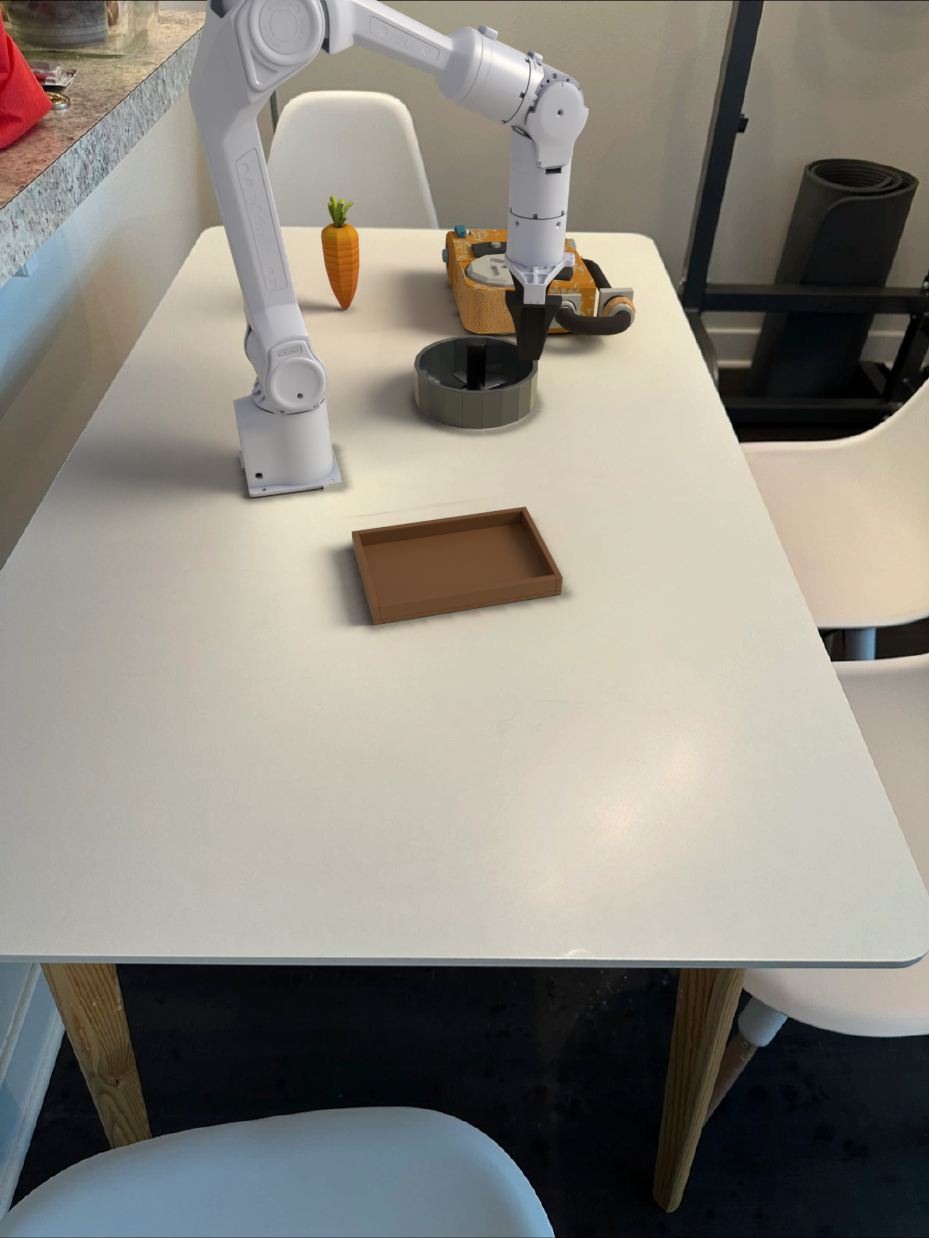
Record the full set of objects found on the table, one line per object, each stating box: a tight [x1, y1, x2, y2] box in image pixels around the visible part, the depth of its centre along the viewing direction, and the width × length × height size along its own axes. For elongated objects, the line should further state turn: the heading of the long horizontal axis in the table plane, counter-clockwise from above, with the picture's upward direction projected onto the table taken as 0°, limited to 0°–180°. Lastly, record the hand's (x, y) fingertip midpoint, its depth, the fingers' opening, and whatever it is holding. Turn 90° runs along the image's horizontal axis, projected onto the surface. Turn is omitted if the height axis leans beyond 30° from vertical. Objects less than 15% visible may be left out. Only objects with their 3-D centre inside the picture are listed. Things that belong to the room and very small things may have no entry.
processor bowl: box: [413, 334, 539, 430], centre depth 107 cm, size 14×14×5 cm
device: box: [441, 224, 637, 337], centre depth 124 cm, size 23×8×30 cm
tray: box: [351, 506, 564, 625], centre depth 84 cm, size 17×11×2 cm, turn 104°
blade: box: [452, 337, 507, 391], centre depth 105 cm, size 8×8×7 cm
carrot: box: [320, 195, 360, 311], centre depth 122 cm, size 5×5×15 cm
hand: (529, 342), depth 97 cm, fingers open, 7 cm apart
